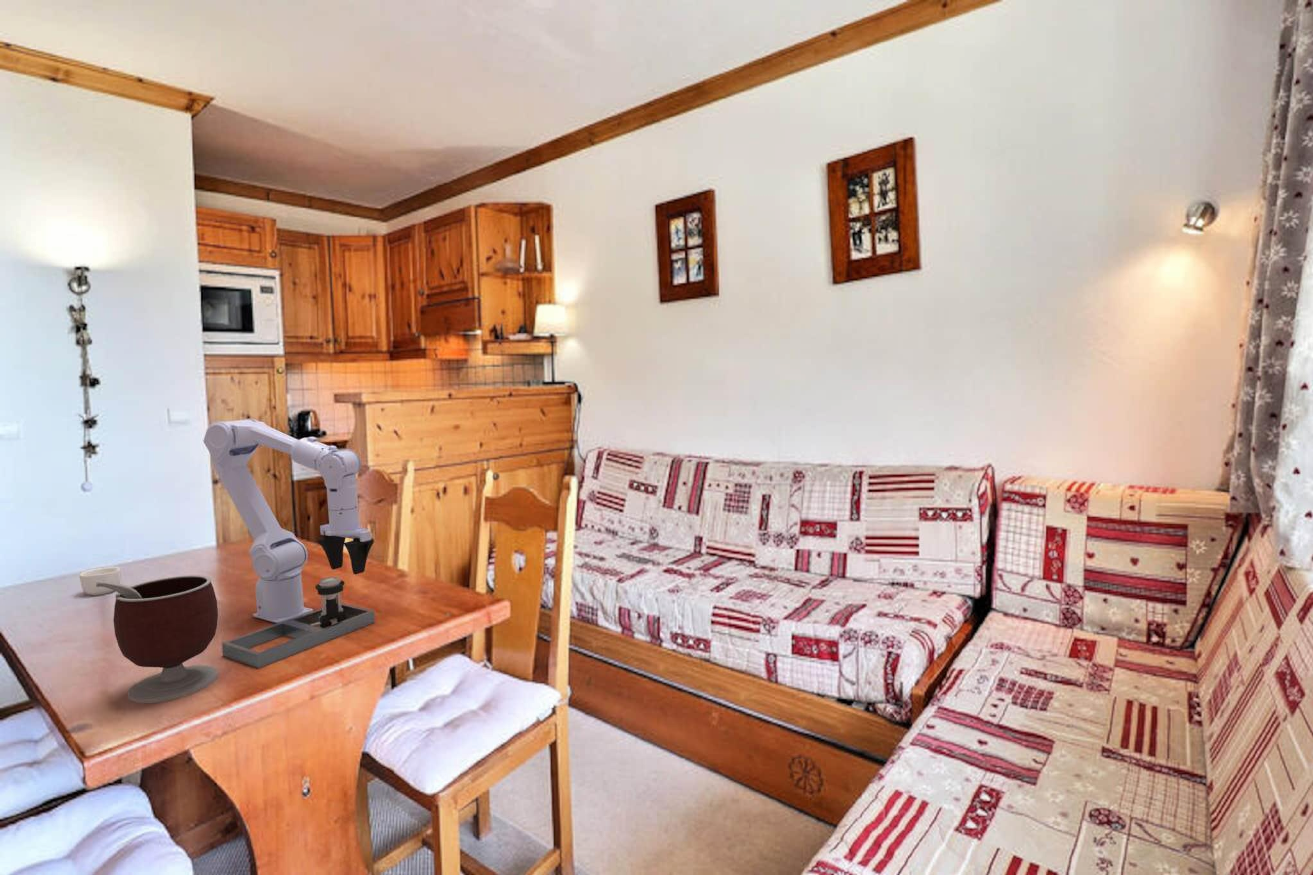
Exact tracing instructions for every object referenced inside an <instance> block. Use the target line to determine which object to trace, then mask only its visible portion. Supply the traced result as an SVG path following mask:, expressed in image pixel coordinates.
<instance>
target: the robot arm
mask: <svg viewBox="0 0 1313 875" xmlns="http://www.w3.org/2000/svg"><path fill="white" fill-rule="evenodd" d="M203 443H204V445H205V447H206V450H207V451H208V452H209V454H210V456H211V459H212V464H213V468H214V471H215V472H216V474H217V476H218V478H219V481H221V483H222V485H223V487H224V489H225V491H226V492H227V495H228V496H229V498H230V499H231V502H232V503H233V505H234V507H235V509H236V510H237V512H238V514H239V516H240V517H241V519H242V521H243V522H244V525H245V526H246V529H247V530H248V531H249V533H250V535H251V537H252V539H253V540H254V541H253V543H252V545H251V546H250V548H249V551H248V554H249V556H250V558H251V561H252V568H253V570H254V573H256V575H257V576H258V577H259V578H258V580H256V581H257V582H256V584H255V589H254V590H255V599H256V611H257V612H256V613H253V615H252V616H253V617H254V618H258V619H261V620H265V621H268V622H272V623H275V624H278V623H281V622H284V621H287V620H290V619H293V618H296V617H298V616H301V615H304V614H307V613H310V612H313V611H314V609H313V608H309V607H305V605H304V594H303V581H302V572H303V571H304V569H303V568H304V567H303V566H304V565H305V564H306V563H307V561H308V554H309V553H308V549H307V548H306V546H305V544H304V543H302V542H301V541H300V540H298V538H297V537H296V535H295V533H293V532H291V531H290V530H286V529H284V528H282V527H281V526H280V523H279V522H278V520H277V518H276V516H275V515H274V513H273V511H272V509H271V508H270V506H269V504H268V502H267V500H266V498H265V496H264V495H263V493H262V491H261V489H260V488H259V486H258V484H257V483H256V481H255V479H254V477H253V475H252V473H251V472H250V470H249V468H248V466H247V465H248V463H249V460H250V459H251V458H252V457H253V456H254V454H255V452H256V451H257V450H258V449H259V447H260V446H265V447H267V448H270V449H273V450H277V451H279V452H282V453H285V454H287V455H290V457H291V459H292V461H293V462H294V463H296V464H298V465H301V466H304V467H306V468H310V469H311V470H313V471H317V472H319V474H320V476H321V477H322V478H323V481H324V486H325V487H326V496H327V510H328V511H327V512H328V521H329V523H327V524H326V523H325V524H323V525H320V526H319V531H320V535H322V537H318V538H317V542H318V543H319V545H320V547H321V548H322V549H323V551H324V553H325V555H326V558H327V560H328V563H329V567H330V568H331V570H337V569H341V568H343V562H344V547H345V549H346V550H347V552H348V555H349V558H350V565H351V569H352V570H351V571H352V573H353V575H359V574H363V573H364V572H365V570H366V564H367V560H368V555H369V553H370V550H371V548H372V546H373V544H374V543H375V540H374V538H372V532H371V530H369V529H366V528H364V527H363V526H361V525H360V516H359V513H360V512H359V499H358V486H357V485H358V484H357V474H358V473H359V472H360V470H361V467H362V461H361V458H360V456H359V454H358V453H356V452H355V451H354V450H352V449H350V448H345V449H342V450H339V449H338V447H337V446H336V445H328V444H325V443H322V442H320V441H318V438H317V437H315V436H309V437H303V438H301V439H297V438H295V437H293V436H292V435H291V436H290V435H288V434H286V433H284V432H281V431H279V430H278V429H275V428H273V427H271V426H269V425H267V424H266V423H265V422H263V421H258V420H257V419H254V418H245V419H241V420H239V419H238V420H231V421H230V420H229V421H228V420H227V421H214V422H212V423H210V424H209V426H208V427H207V429H206V432H205V434H204V438H203ZM346 539H352V540H351V541H350V540H349V541H346Z"/></svg>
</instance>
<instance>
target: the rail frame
mask: <svg viewBox="0 0 1313 875" xmlns="http://www.w3.org/2000/svg"><path fill="white" fill-rule="evenodd" d="M341 608H343V612H345V613H346V620H344V621H341V622H339V623H336V624H333V625H331V626H328V627H325V628H323V629H322V628H319V626H320V625H319V624H317V625H314V623H317V622H319V616H321V613H322V608H319V609H317V610H313V611H312V612H310V613H307V614H304V615H301V616H298V617H295V618H292V619H289V620H286V621H284V622H281V623H275V624H272V625H270V626H267V627H264V628H261V629H259V630H255V631H253V632H250V633H249V632H248V633H247V634H244V635H240V636H238V637H235V638H232V639H230V640H226V641H224V642H221V649H222V650H221V651H222V657H224V658H228V659H231V660H233V661H236V662H239V663H242V664H244V665H248V666H250V667H253V668H256V669H260V668H262V667H263V668H264V667H265V666H269V665H270V664H273V663H276V662H278V661H280V660H283V659H285V658H288V657H290V656H293V655H295V654H298V653H301V652H303V651H305V650H306V651H307V650H308V649H311V648H314V647H315V646H319V645H321V644H324V643H326V642H329V641H331V640H333V639H336V638H339V637H341V636H344V635H346V634H349V633H352V632H354V631H357V630H359V629H362V628H364V627H367V626H369V625H372V624H374V623H375V622H376V620H375V610H373V609H372V610H371V609H368V608H362V607H359V606H355V605H351V604H346V603H342V602H341ZM311 624H313V626H312V625H311ZM281 637H288V638H291V640H288V641H285V642H283V643H281V644H277V645H275V646H273V647H270V648H267V649H264V650H261V651H256V650H253V649H250V648H254V647H256V646H258V645H262V644H264V643H267V642H269V641H273V640H275V639H278V638H281Z"/></svg>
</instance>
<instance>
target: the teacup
mask: <svg viewBox="0 0 1313 875" xmlns="http://www.w3.org/2000/svg"><path fill="white" fill-rule="evenodd" d="M121 574H122V573H121V568H120V567H119V566H105V567H99V568H98V567H97V568H94V569H89V570H86V571H83V572H81V573H80V574H79V582H80V586H81V588H82V589H81V590H82V591H83V592H84V593H86V594H87V595H89V596H102V595H107V594H111V593H112V592H114V591H115V590H112V589H110V588H106V587H96V584H97V582H109V583H115V584H121Z"/></svg>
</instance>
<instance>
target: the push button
mask: <svg viewBox="0 0 1313 875" xmlns="http://www.w3.org/2000/svg"><path fill="white" fill-rule="evenodd" d="M345 584H346V583H345V581H344V580H340V577H339V576H329V577H325V578H324V577H323V578H322V579H320V581H319V583H318V584H316V585H315V590H317V595H319V596H320V598H321V599H320V600H321V602H320V603H321V609H322V613H321V616H319V622H317V623H314V625H317V624H319V625H320V626H319V628H322V629H323V628H325V627H328V626H331V625H333V624H336V623H339V622H341V621H344V620H346V619H347V617H346V613H345V612H343V608H341V603H342V596H341V594H342V591H344V585H345ZM311 625H312V626H313V624H311Z"/></svg>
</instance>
